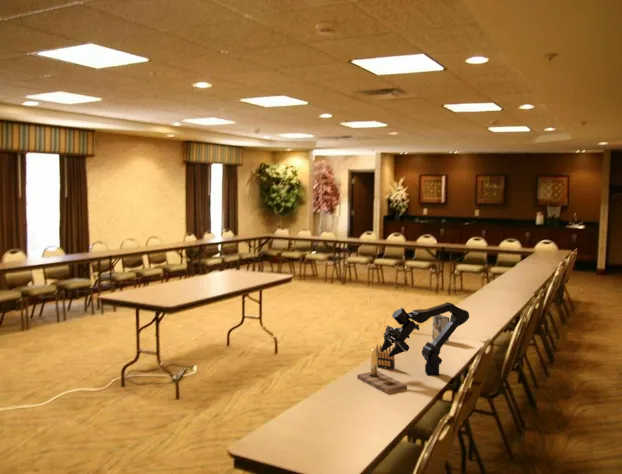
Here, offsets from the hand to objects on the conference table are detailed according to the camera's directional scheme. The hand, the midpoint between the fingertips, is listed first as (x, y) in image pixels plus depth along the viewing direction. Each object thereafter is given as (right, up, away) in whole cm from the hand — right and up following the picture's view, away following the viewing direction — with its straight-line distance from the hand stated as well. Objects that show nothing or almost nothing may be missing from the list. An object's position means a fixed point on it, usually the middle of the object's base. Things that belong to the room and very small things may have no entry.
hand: (384, 353), depth 279 cm
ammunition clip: (+2, -11, +19) cm, 22 cm away
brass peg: (-6, -13, -1) cm, 14 cm away
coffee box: (+44, -7, +70) cm, 83 cm away
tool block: (-2, -13, -6) cm, 15 cm away
